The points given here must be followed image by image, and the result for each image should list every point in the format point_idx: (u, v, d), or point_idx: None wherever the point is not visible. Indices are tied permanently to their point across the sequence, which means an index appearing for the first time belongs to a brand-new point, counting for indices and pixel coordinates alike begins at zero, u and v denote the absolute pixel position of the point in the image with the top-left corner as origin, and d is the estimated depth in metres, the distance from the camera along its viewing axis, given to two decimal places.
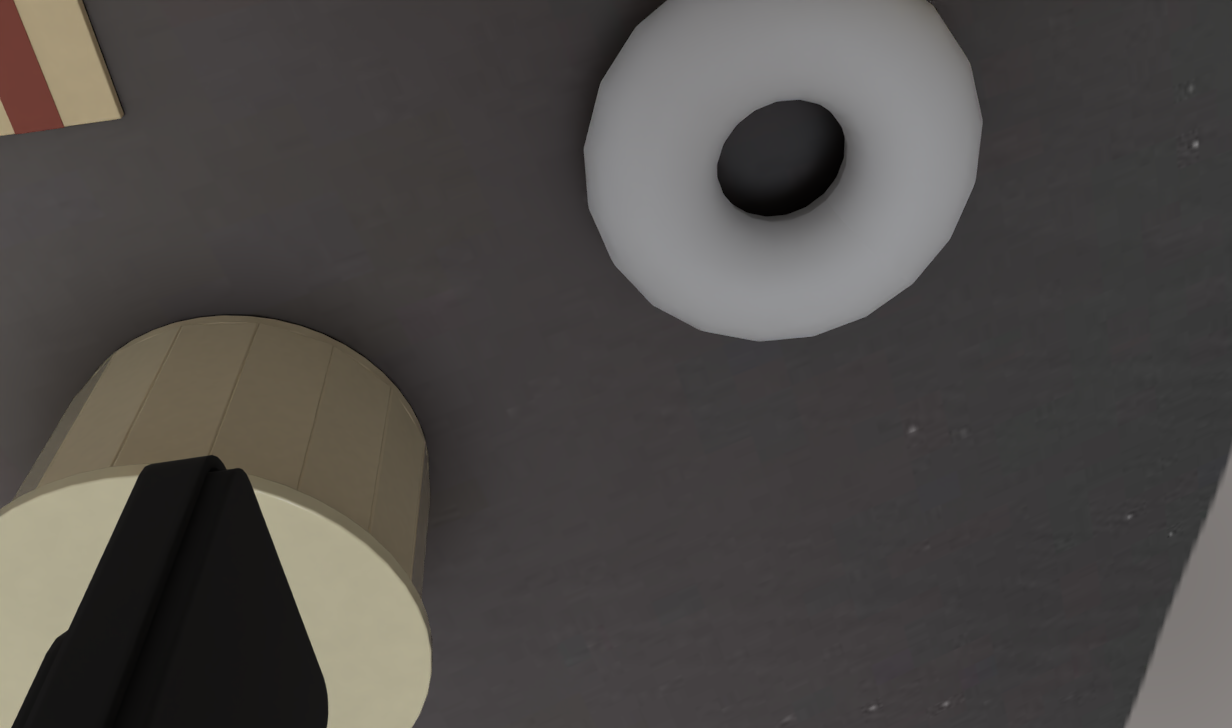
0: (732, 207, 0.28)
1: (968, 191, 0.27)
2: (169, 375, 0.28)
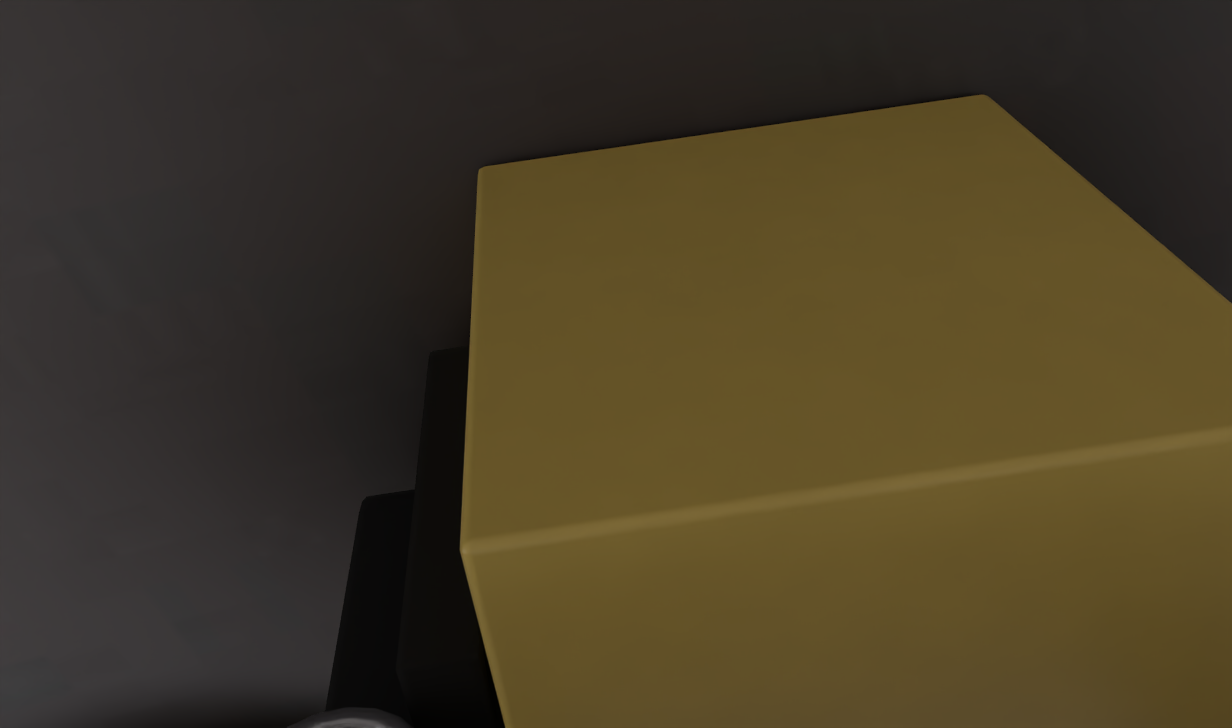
0: None
1: None
2: None
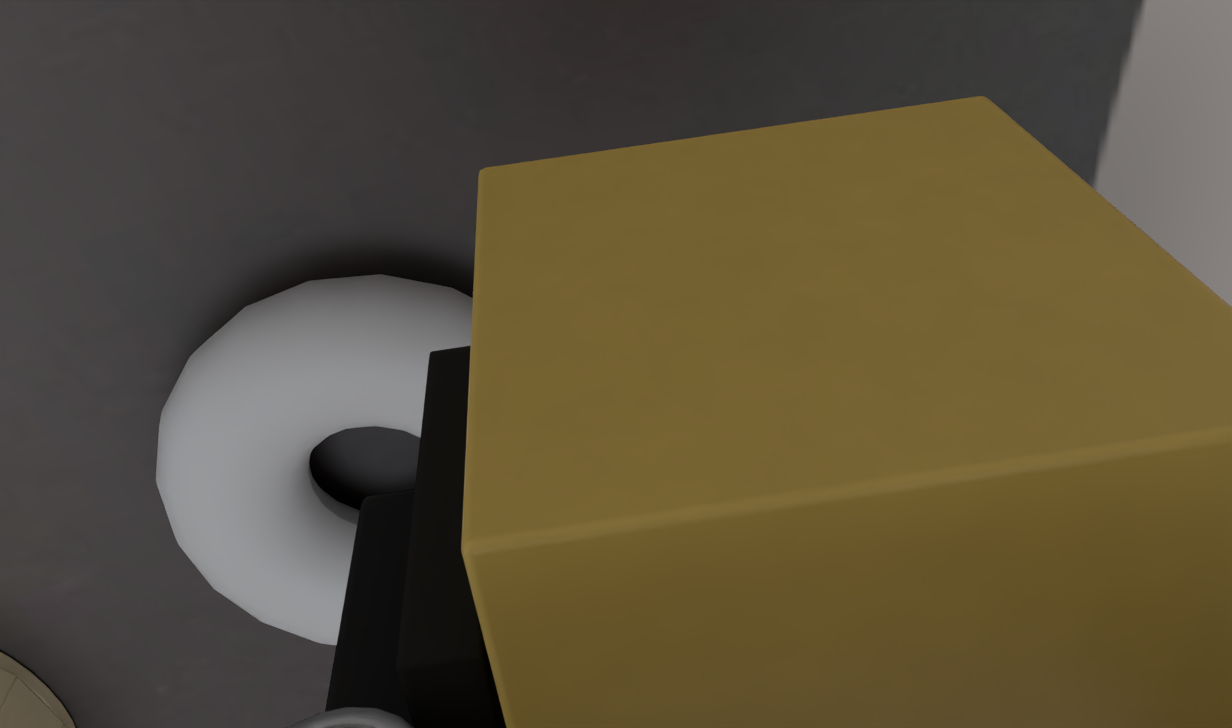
0: (333, 518, 0.26)
1: None
2: None
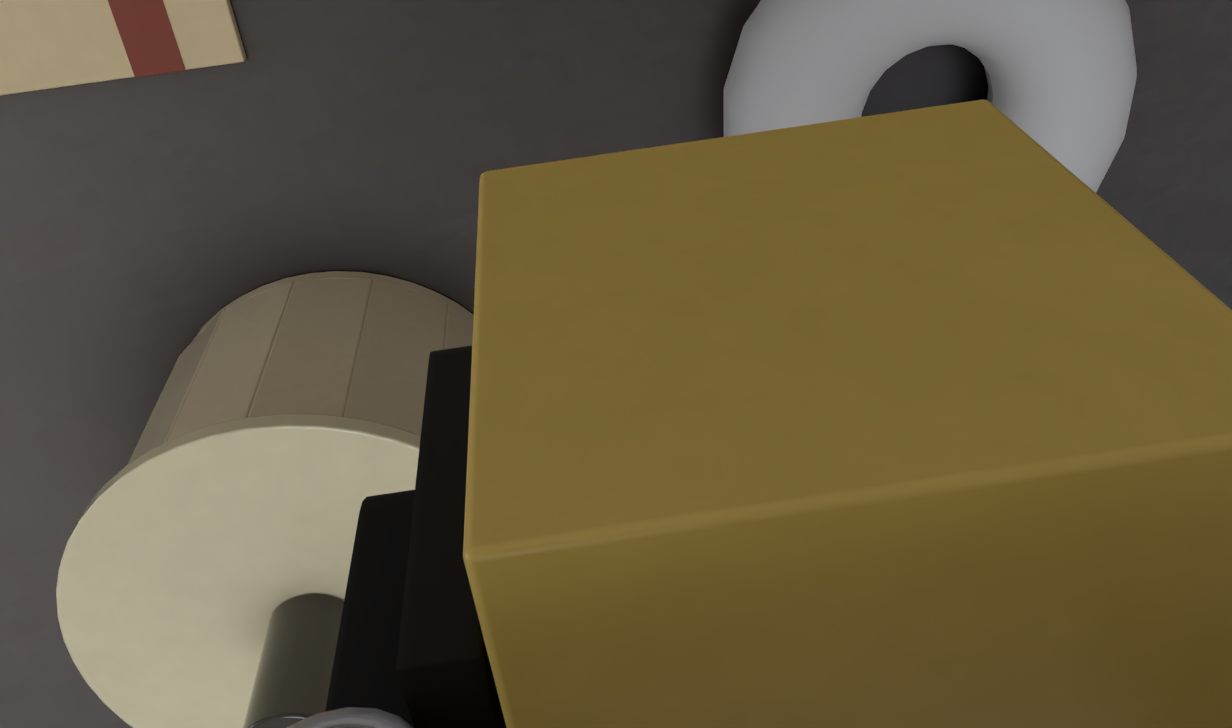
0: None
1: (1119, 142, 0.26)
2: (290, 329, 0.27)
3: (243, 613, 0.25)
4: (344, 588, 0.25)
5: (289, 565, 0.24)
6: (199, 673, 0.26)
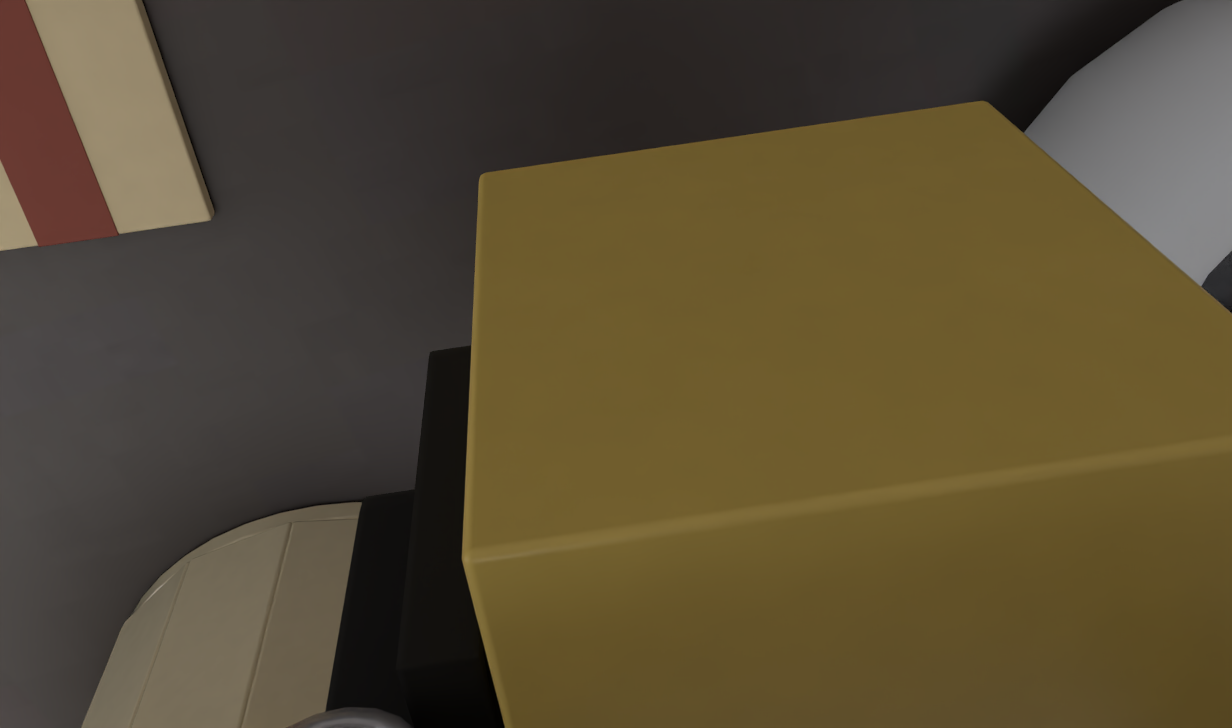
0: None
1: None
2: (285, 628, 0.17)
3: None
4: None
5: None
6: None
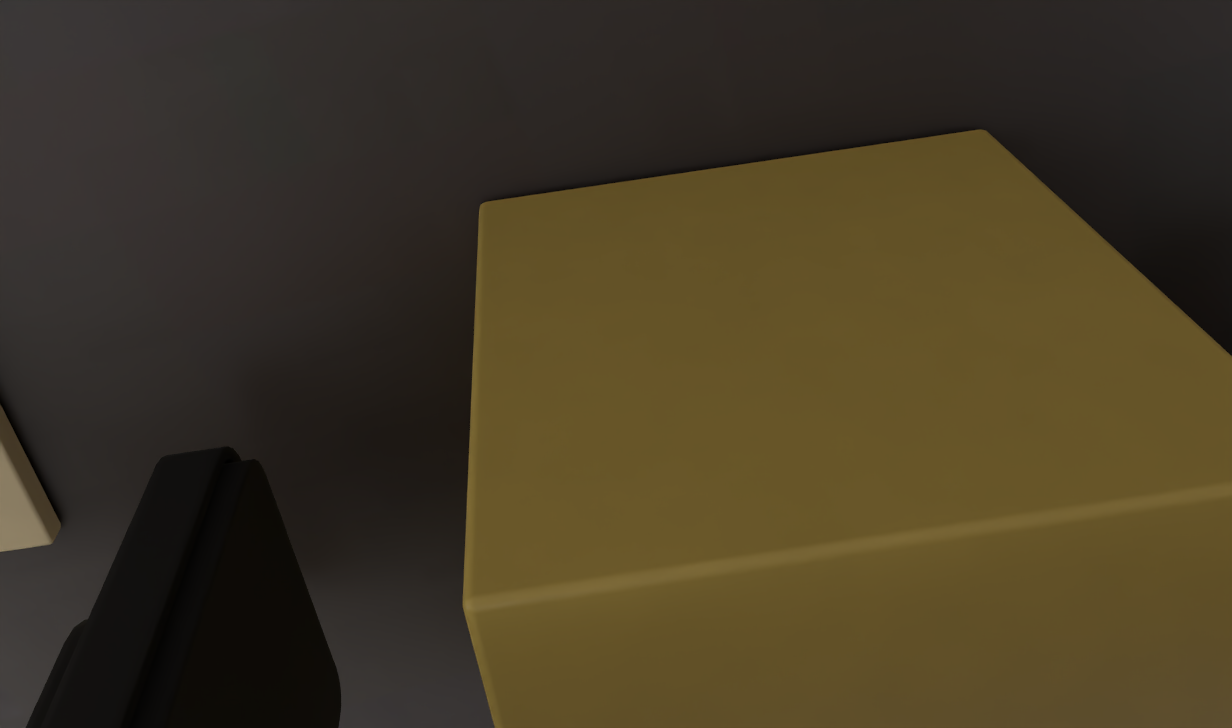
0: None
1: None
2: None
3: None
4: None
5: None
6: None
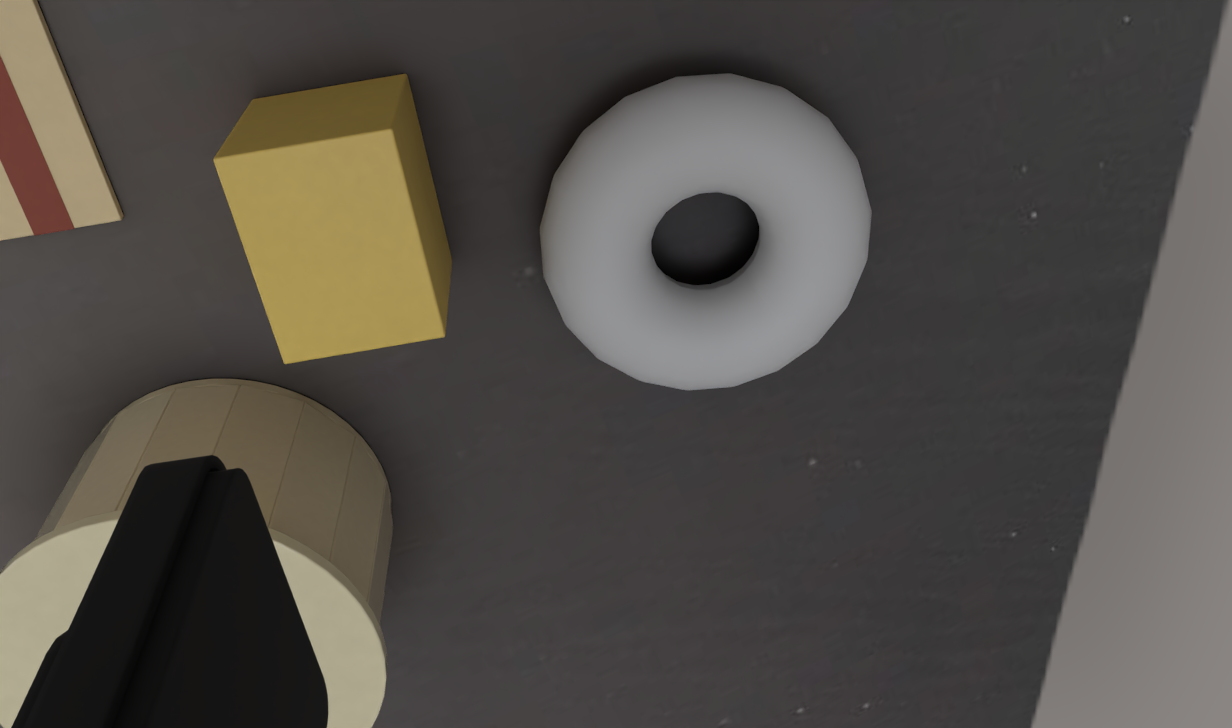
0: (664, 278, 0.33)
1: (859, 269, 0.33)
2: (164, 432, 0.33)
3: None
4: None
5: None
6: None
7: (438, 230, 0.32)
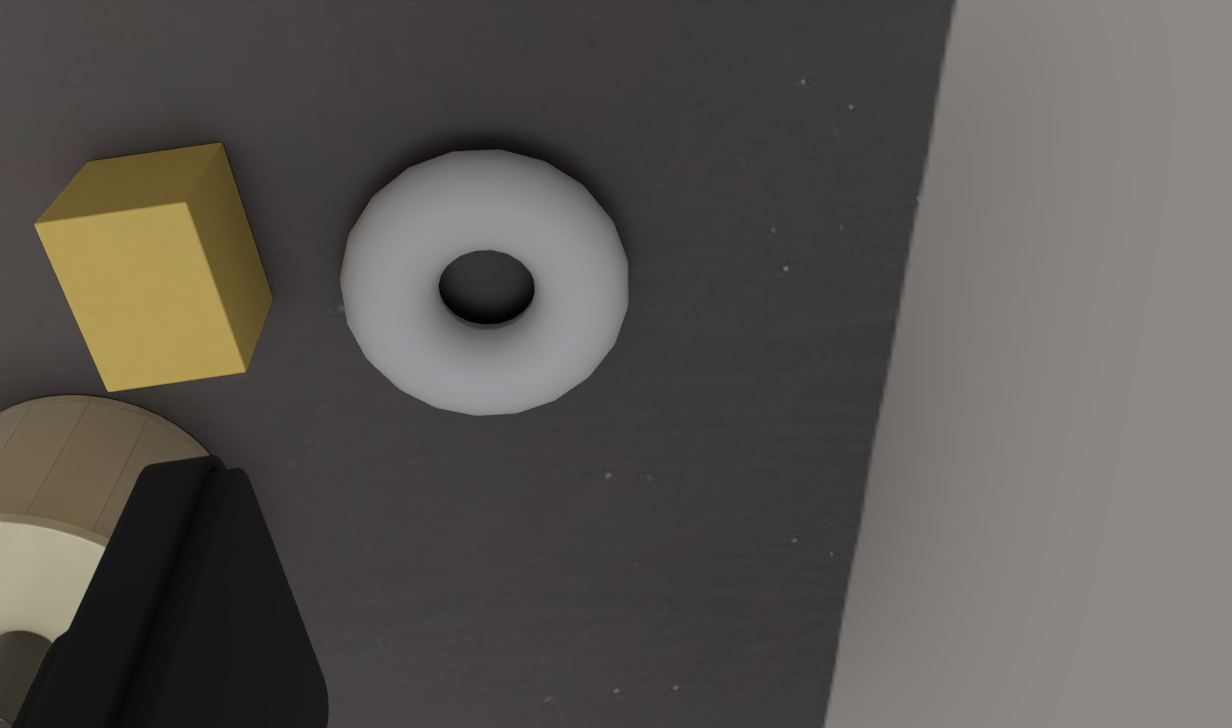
0: (452, 319, 0.39)
1: (616, 317, 0.38)
2: (15, 444, 0.38)
3: None
4: (39, 626, 0.36)
5: None
6: None
7: (252, 276, 0.38)
